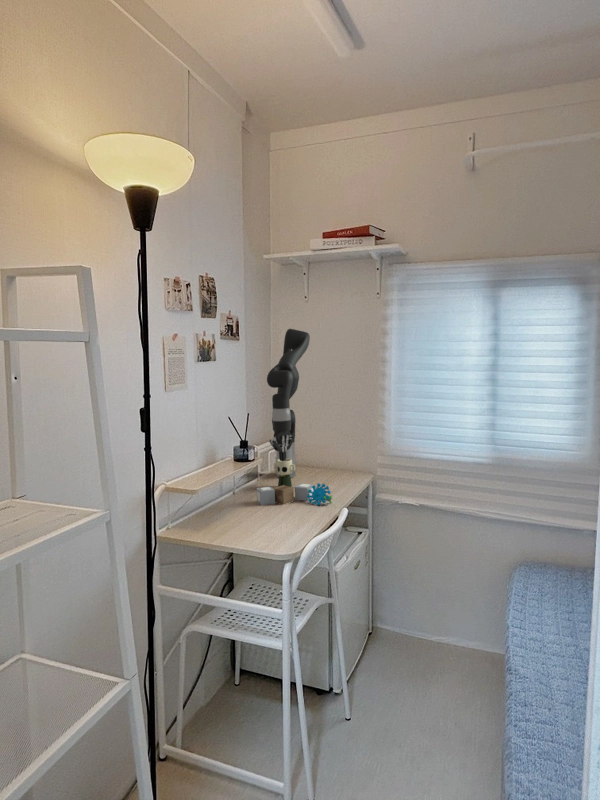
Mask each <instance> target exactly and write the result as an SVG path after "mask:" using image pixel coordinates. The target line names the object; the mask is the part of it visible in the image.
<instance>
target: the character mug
mask: <svg viewBox="0 0 600 800" xmlns="http://www.w3.org/2000/svg"><path fill="white" fill-rule="evenodd" d="M276 467H277V468H276ZM292 467H293V470H292ZM273 470H275V471H276V470H277V473H278V474H279V475H280V476H279V477H278V482H277V487H279V486H282V485H285V486H289V487H293V486H292V485H293V484H292V478H291V477H290V475H289V474H291V473H292V472H295V473H296V464H295V465H293V464H292V459H287V458H286V460H285V461H280V459H278V460H277V463H276V462H274V463H273Z"/></svg>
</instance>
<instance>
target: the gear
mask: <svg viewBox="0 0 600 800" xmlns="http://www.w3.org/2000/svg"><path fill="white" fill-rule="evenodd" d="M313 485H314V486H312V488H313V490H314V491H313V492H312V490H311V489H310V490H309V491H308V492H309V493H312V495H311V496H310V495H309V494H308V495H307V497H308V498H310V497H312V498H313V499H309V501H308V502H309V503H311V504H312V505H313V504H315V505H318V506H321V504H322V503H323V504H325V503H326V502H329V503H330V504H332V503H333V501H332V500H333V496H332V495H331V489H330V487H329V485H326V484H325V483H322V484H321V483H318V482H317V483H316V485H315V484H313ZM316 486H317V487H316Z"/></svg>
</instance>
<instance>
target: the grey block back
mask: <svg viewBox="0 0 600 800" xmlns="http://www.w3.org/2000/svg"><path fill="white" fill-rule="evenodd" d="M314 485H315V484H312V483H311V484H310V483H299V484H298V485H295V486H294V500H295V499H296V500H295V501H298V500H304V501H303V502H305V501H308V502H309V499H312V497H310V498H308V497H307V495H308V494H309V495H310V496H311V495H312V493H309V492H308V491H309V490H310V489H311V490H312V492H313V491H314V490H313V488H312V486H314Z"/></svg>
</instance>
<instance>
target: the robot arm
mask: <svg viewBox="0 0 600 800" xmlns="http://www.w3.org/2000/svg"><path fill="white" fill-rule="evenodd" d="M310 338H311V337H310V333H308V332H307V331H304V330H300V329H299V330H298V329H294V328H288V329H287V330H286V331H285V334H284V339H283V340H284V341H283V351H282V352H283V353H282V356H281V357H280V359H279V361H278V363H277V364H276V365H275V366H274V367H272V368H271V369H270V371H268V373H267V375H266V382H267V385H268V386H269V387H270V388H274V389H277V392H276V393H274V394H273V395H272V397H271V398H272V399H271V400H272V401H271V402H272V410H271V411H272V413H271V415H272V416H271V424H272V431H273V437H272V439H270V440H269V444H270V445H271V446H272V448H273V449H274V451H275V454H276V456H275V463H277V460H278V459H280V461H285V460H286V458H287V459H292V464H293V465H295V466H296V443H295V442H296V441H295V438H296V415H295V411H294V410H293V409H290V408H291V407H290V400H291V398H292V397H293V396H294V395H295V393H296V391H298V387H299V381H300V374H299V371H298V368H297V367H296V365H297V364H298V361H299V360H300V359H301V358H302V357H303V356H304V354H305V352H306V351H307V350H308V348H309V345H310ZM276 468H277V467H276ZM292 470H293V467H292ZM275 475H277V476H276V477H277V478H279V476H280V475H279V474H278V473H277V470H275ZM289 475H290V477H291V479H293V478H295V477H296V471H295V472H292V473H291V474H289Z"/></svg>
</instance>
